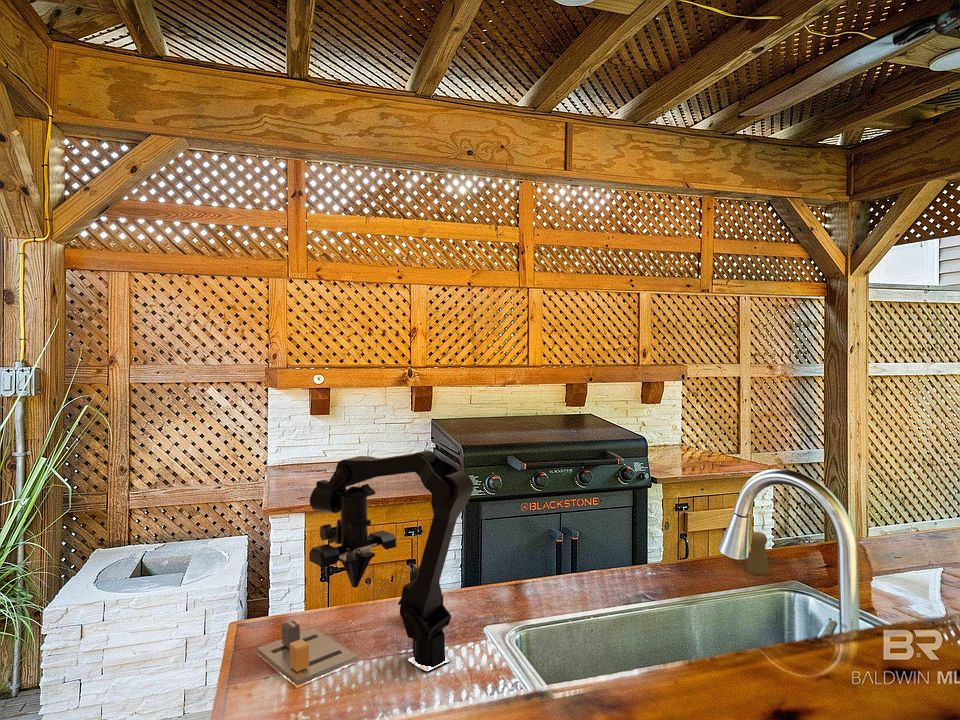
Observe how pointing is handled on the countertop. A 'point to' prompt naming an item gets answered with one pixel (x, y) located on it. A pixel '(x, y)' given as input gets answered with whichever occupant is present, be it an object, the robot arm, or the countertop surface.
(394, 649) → the countertop surface
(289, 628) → the charcoal fader
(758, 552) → the brown tall tapered piece
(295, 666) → the orange fader
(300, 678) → the console
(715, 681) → the countertop surface
